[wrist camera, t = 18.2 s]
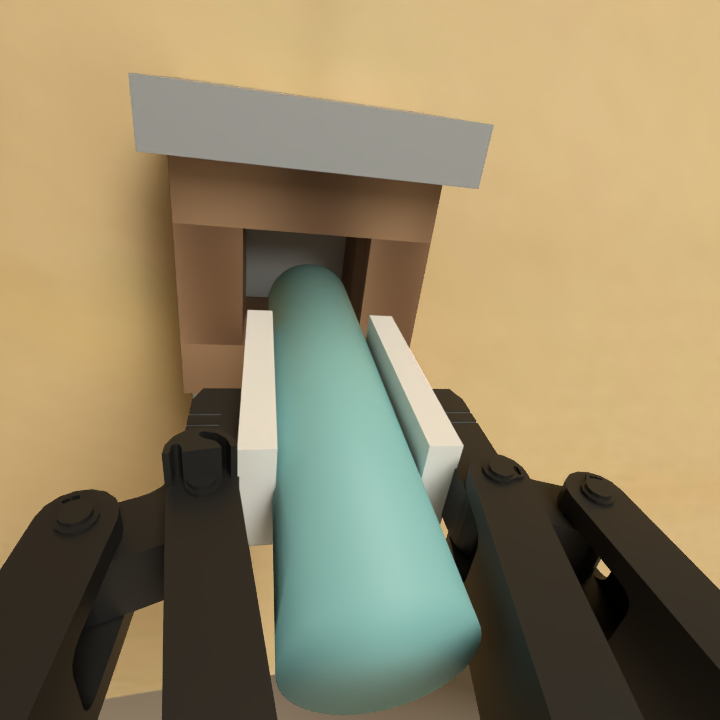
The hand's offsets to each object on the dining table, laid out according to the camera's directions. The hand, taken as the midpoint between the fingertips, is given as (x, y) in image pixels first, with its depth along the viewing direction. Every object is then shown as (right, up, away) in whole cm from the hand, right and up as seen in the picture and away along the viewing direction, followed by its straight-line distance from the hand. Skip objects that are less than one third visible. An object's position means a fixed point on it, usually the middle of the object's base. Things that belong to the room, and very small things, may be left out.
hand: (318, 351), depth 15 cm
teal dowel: (-1, +2, +4) cm, 4 cm away
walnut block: (-2, +5, +9) cm, 10 cm away
